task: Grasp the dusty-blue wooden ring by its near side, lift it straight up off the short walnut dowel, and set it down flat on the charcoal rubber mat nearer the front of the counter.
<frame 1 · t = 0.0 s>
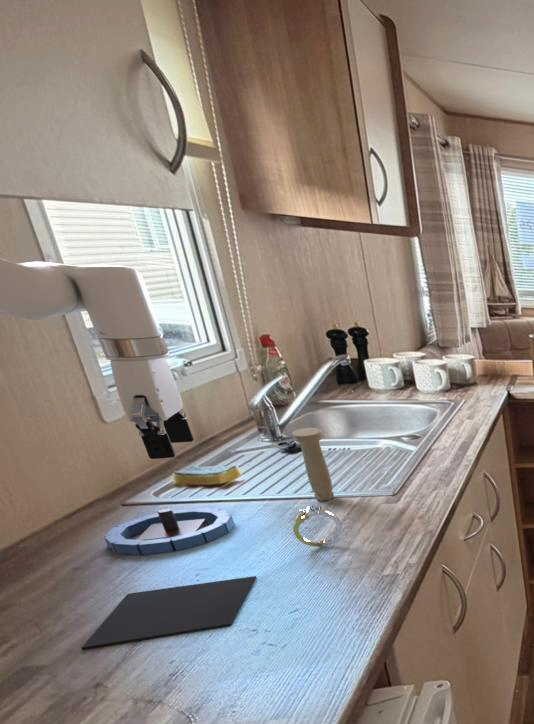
hand: (173, 449, 110), 18 cm above the counter, tool pointing down, fingers open, 9 cm apart
dowel stand: (174, 534, 119), on the counter
ring 2: (323, 547, 118), on the counter
handle: (325, 499, 139), on the counter
ring: (174, 534, 119), on the counter
mat: (178, 610, 97), on the counter
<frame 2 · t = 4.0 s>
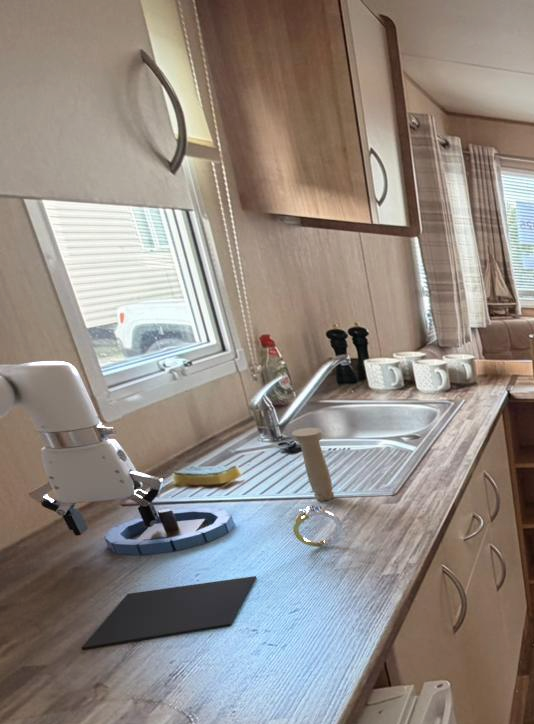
hand: (117, 528, 115), 2 cm above the counter, tool pointing down, fingers open, 9 cm apart
nothing on the counter moved.
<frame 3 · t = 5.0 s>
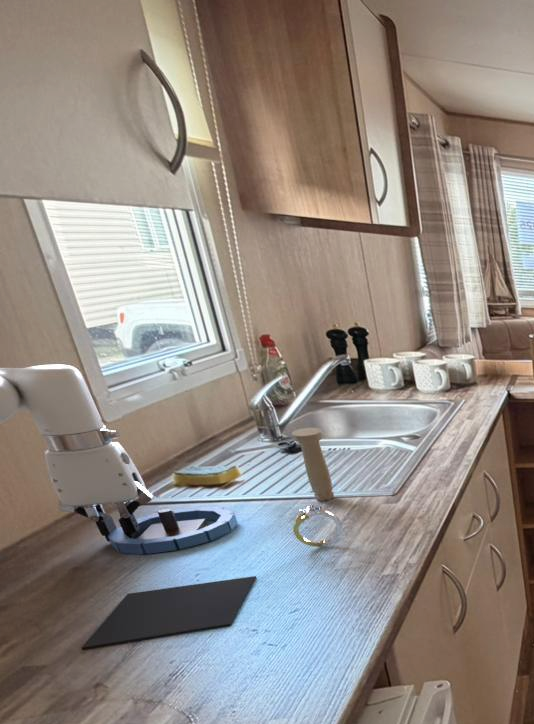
hand: (123, 536, 116), 1 cm above the counter, tool pointing down, fingers closed on ring, 2 cm apart
ring: (177, 533, 120), on the counter, touching gripper
everything else where it was.
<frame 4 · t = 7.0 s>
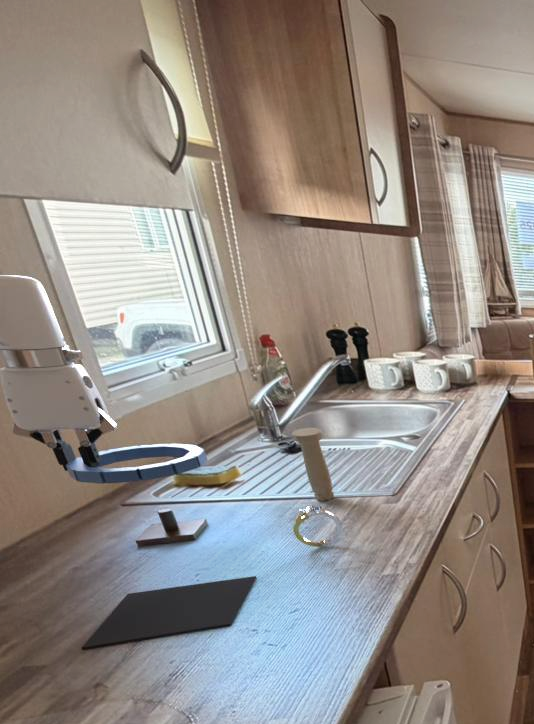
hand: (82, 467, 109), 15 cm above the counter, tool pointing down, fingers closed on ring
ring: (142, 467, 113), point 14 cm above the counter, touching gripper
everything else where it was.
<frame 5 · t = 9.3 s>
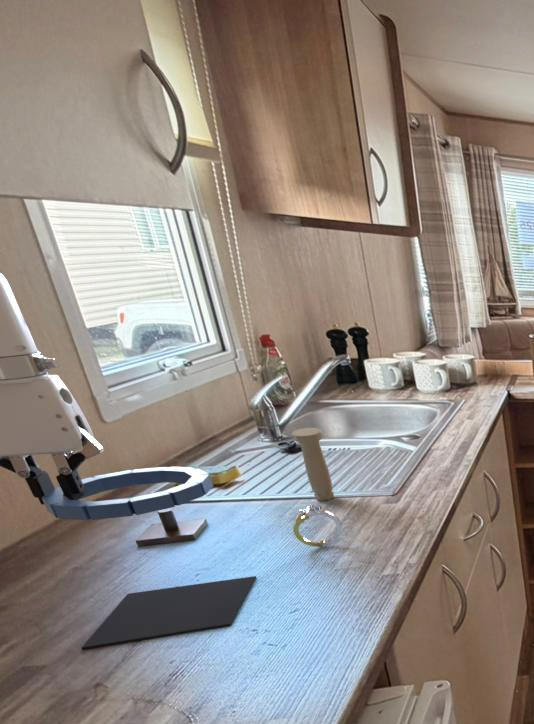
hand: (62, 499, 90), 17 cm above the counter, tool pointing down, fingers closed on ring
ring: (135, 497, 94), point 17 cm above the counter, touching gripper
everything else where it was.
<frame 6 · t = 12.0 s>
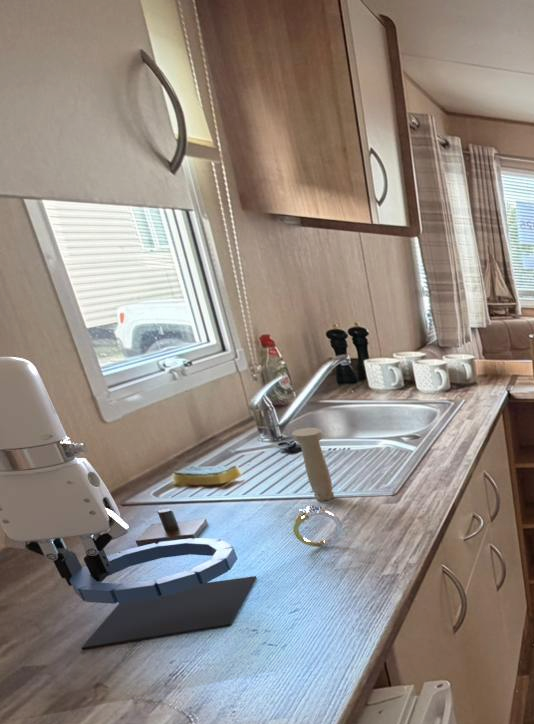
hand: (89, 578, 90), 7 cm above the counter, tool pointing down, fingers closed on ring
ring: (161, 574, 94), point 6 cm above the counter, touching gripper
everything else where it was.
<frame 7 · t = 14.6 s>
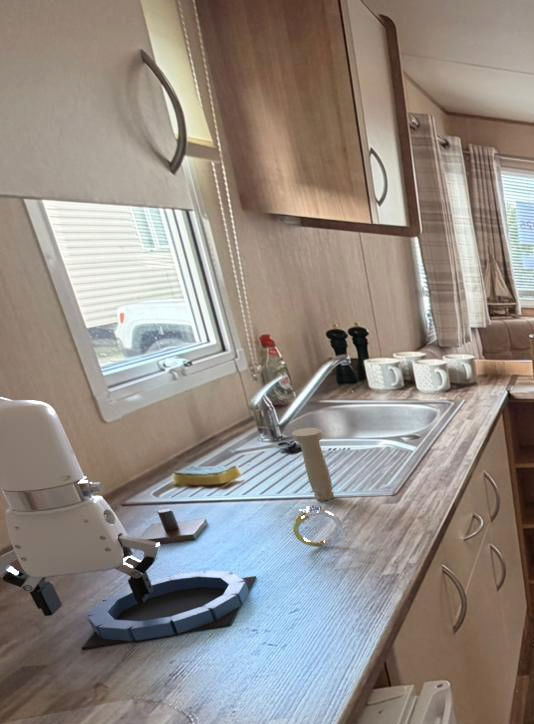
hand: (100, 604, 92), 3 cm above the counter, tool pointing down, fingers open, 9 cm apart
ring: (175, 608, 96), resting on mat
everything else where it was.
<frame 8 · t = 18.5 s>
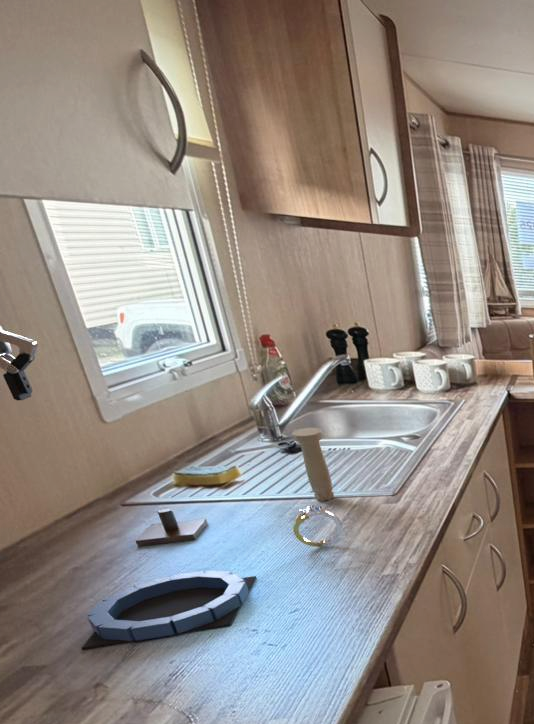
nothing on the counter moved.
at the end: ring inside the target area on the mat (0.2 cm from its centre), point 0.4 cm above the mat's base; ring touching mat; ring tilted 0° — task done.
